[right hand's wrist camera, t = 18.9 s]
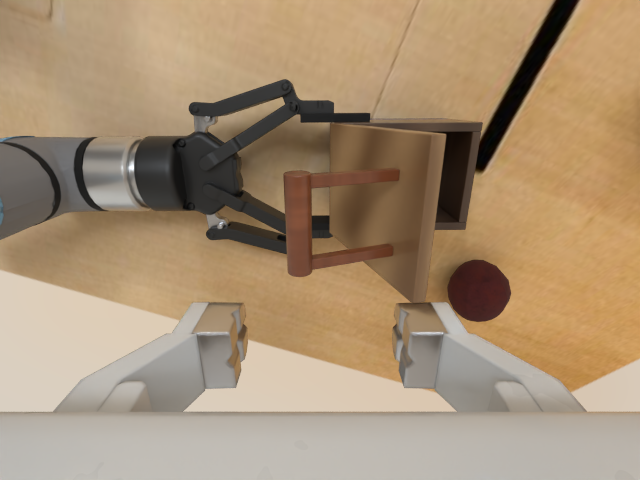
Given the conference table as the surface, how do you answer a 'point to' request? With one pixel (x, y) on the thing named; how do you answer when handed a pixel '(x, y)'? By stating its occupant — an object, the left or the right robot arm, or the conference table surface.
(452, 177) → the chest
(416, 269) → the lid
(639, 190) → the conference table surface
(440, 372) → the right robot arm
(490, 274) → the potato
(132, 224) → the conference table surface
